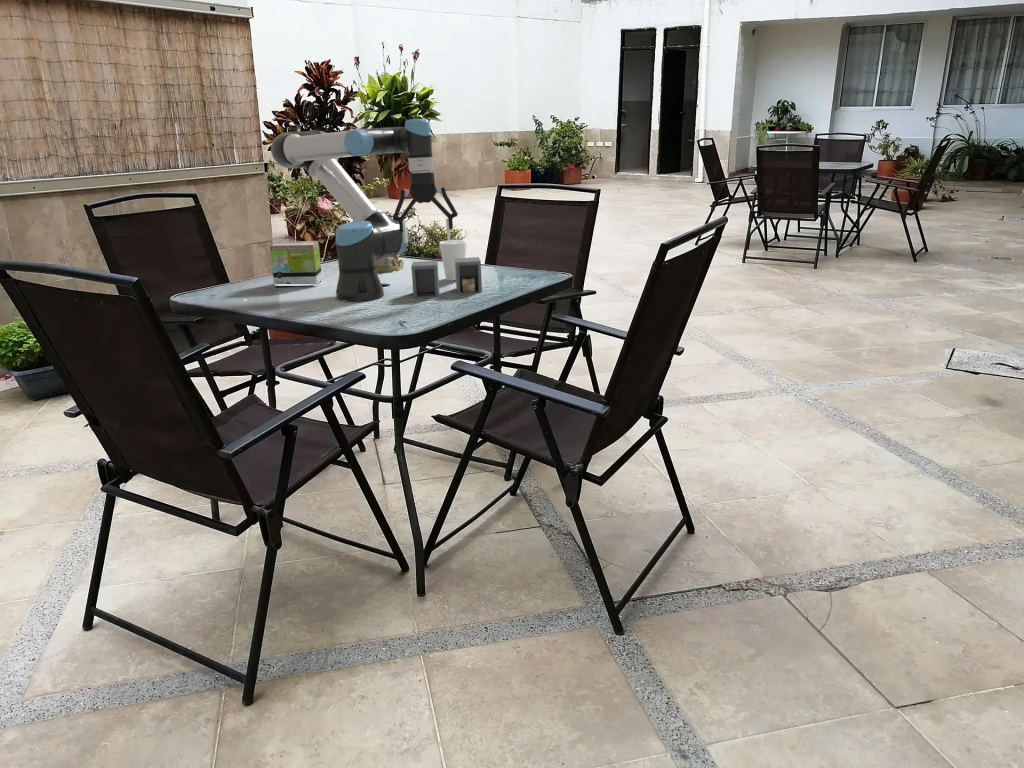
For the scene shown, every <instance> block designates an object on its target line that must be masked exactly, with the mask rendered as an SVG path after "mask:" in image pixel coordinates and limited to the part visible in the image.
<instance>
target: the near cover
mask: <svg viewBox="0 0 1024 768" xmlns="http://www.w3.org/2000/svg"><path fill="white" fill-rule="evenodd" d="M438 265H439V261H438V260H428V261H427V260H426V261H412V262H411V268H410V269H411V280H412V293H413V298H418V295H417V294H418V292H422V293H434V294H435V297H440V281H439V280H440V279H439V266H438Z"/></svg>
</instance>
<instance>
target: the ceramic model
mask: <svg viewBox="0 0 1024 768" xmlns="http://www.w3.org/2000/svg"><path fill="white" fill-rule="evenodd" d="M399 258H400V254H399V255H396V256H395V257H388V258H384V259H379V260H375V263H376V272H390V273H394V272H393V271H396V272H399V271H400V269H401V270H402V269H403V268H404V264H405V263H404V260H403V259H399Z"/></svg>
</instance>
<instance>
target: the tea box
mask: <svg viewBox="0 0 1024 768" xmlns="http://www.w3.org/2000/svg"><path fill="white" fill-rule="evenodd" d="M269 252H270V253H269V254H270V262H271V270H272V279H273V285H274V284H314V285H315V284H318V283H319V282H320V281H321V280H322V281H323V274H322V264H321V254H320V244H319V241H318V240H307V241H306V240H304V241H302V240H301V241H299V240H298V241H297V240H295V241H275V243H273V244H272V245H269ZM322 281H321V282H322ZM321 282H320V283H321ZM320 283H319V284H320Z"/></svg>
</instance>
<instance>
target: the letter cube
mask: <svg viewBox="0 0 1024 768" xmlns="http://www.w3.org/2000/svg"><path fill="white" fill-rule="evenodd" d="M462 286H463V289H462V292H463V291H466V292H476V288H475V280H474V277H462Z"/></svg>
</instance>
